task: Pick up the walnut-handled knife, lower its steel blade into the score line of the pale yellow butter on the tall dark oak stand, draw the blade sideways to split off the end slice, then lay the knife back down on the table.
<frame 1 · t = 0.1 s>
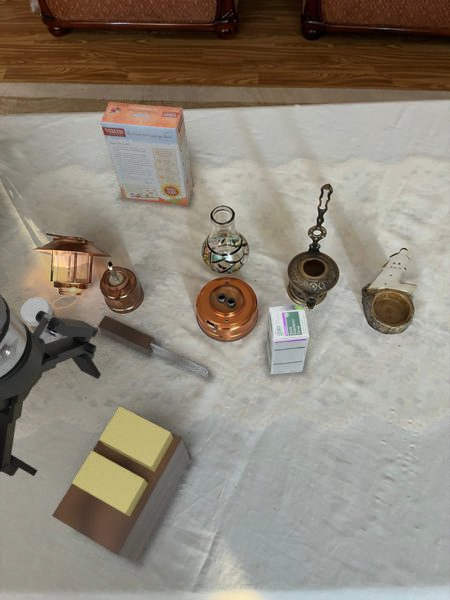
hand: (60, 418, 66), 21 cm above the table, tool pointing down, fingers open, 13 cm apart
butter slice: (113, 485, 68), point 14 cm above the table, touching butter stand
syrup box: (283, 359, 91), on the table
cracker box: (158, 194, 111), on the table
knife: (130, 341, 94), on the table
butter block: (138, 441, 71), point 14 cm above the table, touching butter stand
sprinkles bottle: (60, 344, 94), on the table
butter stand: (137, 494, 81), on the table
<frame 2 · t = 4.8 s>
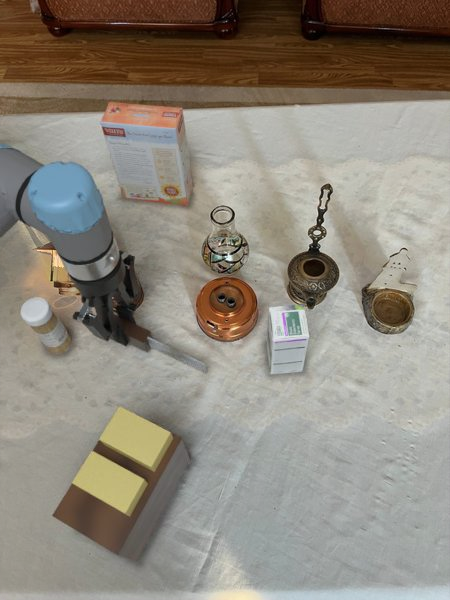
hand: (125, 334, 92), 3 cm above the table, tool pointing down, fingers closed on knife, 2 cm apart
knife: (126, 335, 92), point 2 cm above the table, touching gripper
everything else where it was.
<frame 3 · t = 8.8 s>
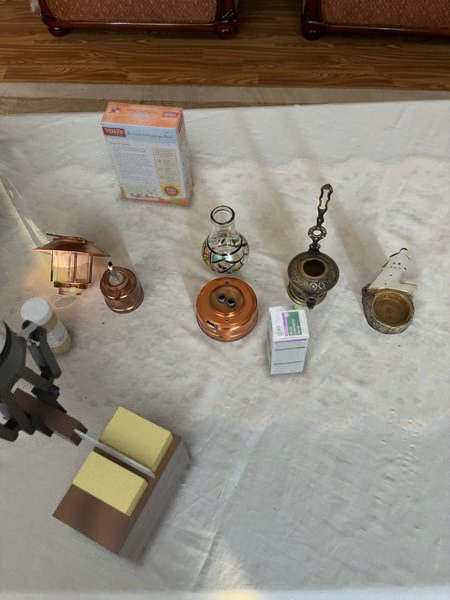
hand: (50, 420, 69), 17 cm above the table, tool pointing down, fingers closed on knife, 2 cm apart
knife: (52, 421, 69), point 17 cm above the table, touching gripper
everything else where it was.
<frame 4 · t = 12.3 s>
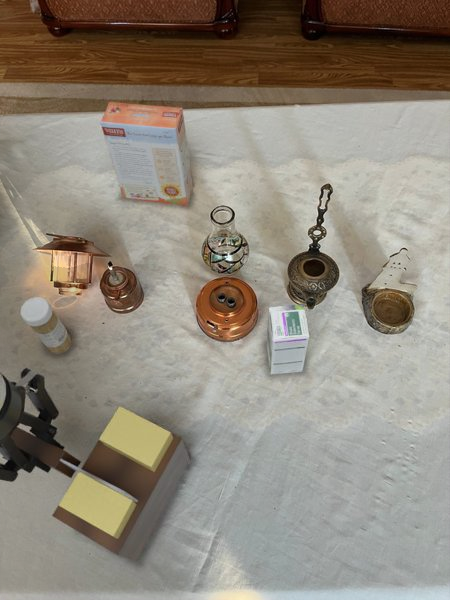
hand: (48, 455, 73), 12 cm above the table, tool pointing down, fingers closed on knife, 2 cm apart
butter slice: (101, 506, 67), point 14 cm above the table, touching butter stand, knife
knife: (51, 456, 72), point 12 cm above the table, tilted 18°, touching butter slice, gripper
everything else where it was.
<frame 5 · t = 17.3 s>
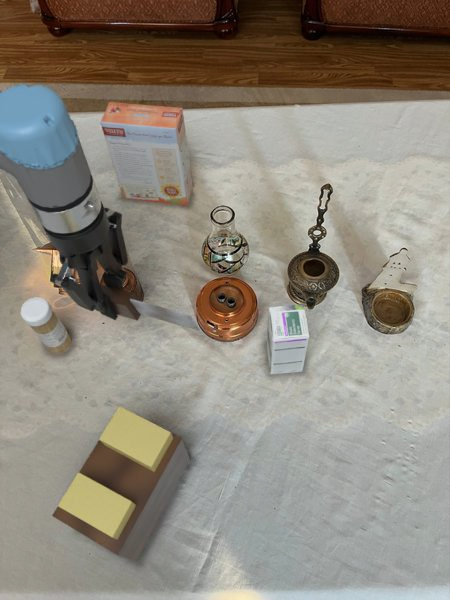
hand: (114, 307, 83), 13 cm above the table, tool pointing down, fingers closed on knife, 2 cm apart
butter slice: (100, 507, 67), point 14 cm above the table, touching butter stand
knife: (117, 307, 82), point 13 cm above the table, tilted 18°, touching gripper
everything else where it was.
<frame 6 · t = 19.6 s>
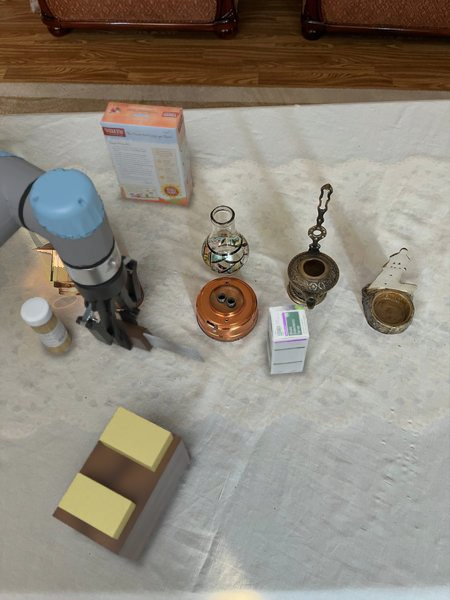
hand: (129, 338, 92), 1 cm above the table, tool pointing down, fingers closed on knife, 2 cm apart
knife: (131, 339, 92), point 2 cm above the table, tilted 18°, touching gripper
everything else where it was.
when the fingers open (0 cm above the table, at t = 21.4 s): knife stays where it is, on the table.
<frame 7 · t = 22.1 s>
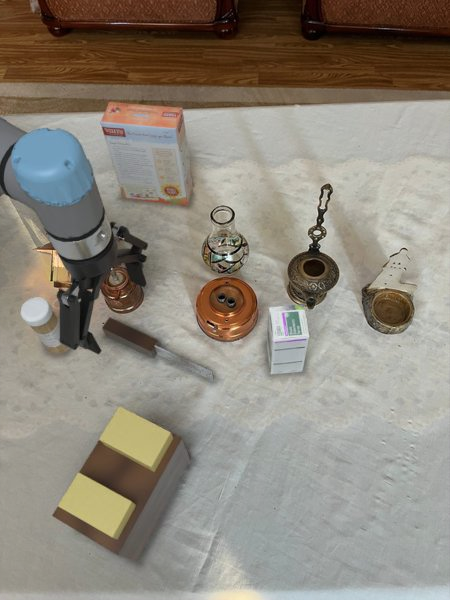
hand: (116, 314, 85), 10 cm above the table, tool pointing down, fingers open, 13 cm apart
knife: (134, 343, 94), on the table
everything else where it was.
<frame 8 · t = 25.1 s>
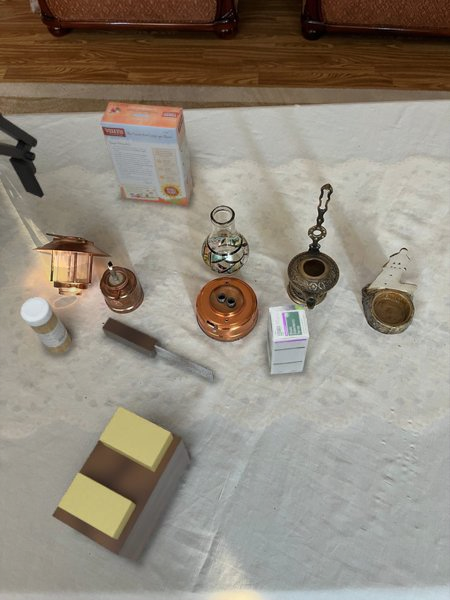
hand: (5, 226, 74), 27 cm above the table, tool pointing down, fingers open, 13 cm apart
nothing on the table moved.
at the end: butter slice moved 3.0 cm from its start; butter slice inside the target area on the butter stand (0.7 cm from its centre), point 14.0 cm above the butter stand's base; knife inside the target area (0.9 cm from its centre), on the table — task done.
